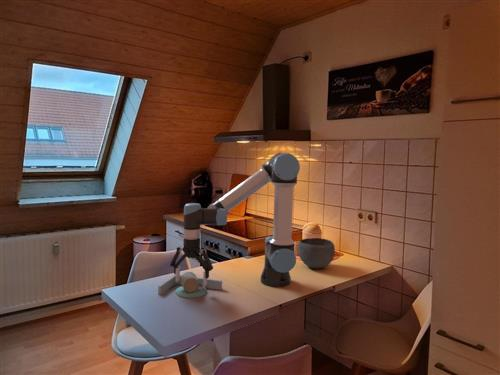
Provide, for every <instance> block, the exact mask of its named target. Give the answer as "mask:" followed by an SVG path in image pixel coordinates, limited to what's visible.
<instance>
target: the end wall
mask: <svg viewBox="0 0 500 375" xmlns="http://www.w3.org/2000/svg"><path fill="white" fill-rule="evenodd" d="M175 285H177V284H176V276H175V274H174V275H172V276H171V277H169V278H167V279H166V280H165V281H163V282H162V283H160V284H158V288H157V289H158V291H157V292H158V295H159V296H160V295H161V296H162V294H165V292H167V291H168V290H170V288H172V287H174V286H175Z"/></svg>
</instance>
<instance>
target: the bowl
mask: <svg viewBox="0 0 500 375" xmlns="http://www.w3.org/2000/svg"><path fill="white" fill-rule="evenodd" d="M335 252H336V248H335V244H334V242H333V241H331V240H330V239H326V238H319V237H311V238H303V239H301V240H300V241H299V242H298V246H297V254H298V256H299V258H300V260H301V261H302V263H303V264H304V265H305V266H306V267H309V268H310V269H316V270H317V269H318V270H319V269H324V268H326V267H328V266H329V265H330V264H331V263H332V261H333V260H334V258H335Z"/></svg>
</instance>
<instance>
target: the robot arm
mask: <svg viewBox="0 0 500 375" xmlns="http://www.w3.org/2000/svg"><path fill="white" fill-rule="evenodd" d="M300 169H301V165H300V162H299V160H298V158H297V157H296V156H295V155H294V154H292V153H289V152H278V153H276V154H274V155H272V156H271V157H270V158H269V159H268V160H267V161H266V162H264V163H263V164H262V165H260V168H259V170H257V171H255V173H253V174H252V175H251V176H249V177H248V178H246V179H245V180H244V181H242V182H240V184H237V186H235V187H234V188H232V189H231V190H229V191H228V192H227V193H226V194H224V195H222V197H220V198H219V199H217V200H216V201H215V202H211V204H209V205H208V206H207V208H205V207H202V206H201V204H200V203H198V202H197V203H195V202H189V203H186V204H185V205H184V206H183V238H182V239H183V243H182V244H183V247H182V246H181V245H180V246H177V247H176V252H175V254H174V256H173V258H172V259H171V262H170V264H169V266H170V267H173V274H174V275H176V282H178V281H180V275H181V274H180V273H181V266H180V265H181V263H182V262H184V260H185V259H186V258H187V259H190V258H191V259H193V260H194V259H195V260H196V261H197V262H198V263H199V264H200V266H201V268H202V269H203V270H204V271H203V273H202V274H203V277H202V278H203V286H205V285H206V284H207V279H210V278H209V277H210V271H212V270H213V269H214V266H213V264H212V261H211V259H210V257H209V254H208V250H207V248H204V249H203V248H202V249H201V226H204V225H205V226H225V225H227V224H228V212H230V211H231V210H233V209H234V208H235V207H237V206H238V205H239V204H241V203H242V202H244V201H245V200H246V199H248V198H249V197H251V195H253V194H255V193H256V192H257V191H259V190H260V189H262V188H263V187H264V186H266V185H267V184H268V183H271V184H272V186H274V190H273V191H274V192H273V193H274V194H273V226H272V236H270V235H269V236H266V238H265V241H264V265H263V266H264V267H263V270H262V271H261V275H260V283H261V284H263V285H265V286H268V287H276V288H277V287H278V288H279V287H286V286H288V285H290V284H291V282H292V280H291V274H290V271H292V270H293V269H294V268H295V266H296V263H297V257H296V253H295V246H296V245H295V244H296V242H295V240H293V239H292V238H293V235H292V234H293V231H292V230H293V209H294V207H293V206H294V187H295V185H297V183H298V175H299V172H300ZM181 252H182V253H184V254H183V255H182V256H181V258H179V256H180V254H181ZM201 255H202V256H201ZM178 259H179V260H178ZM177 260H178V261H177Z"/></svg>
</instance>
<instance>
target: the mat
mask: <svg viewBox="0 0 500 375" xmlns="http://www.w3.org/2000/svg"><path fill="white" fill-rule="evenodd" d="M206 294H207V288H204V290H199V289H197V290H196V291H195V292H193V293H188V292H186V291H185V290H184V288H183V287H182V285H181V286H179V287H178V288H176V289H175V295H176V296H178V297H180V298H185V299H196V298H200V297H203V296H204V295H206Z"/></svg>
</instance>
